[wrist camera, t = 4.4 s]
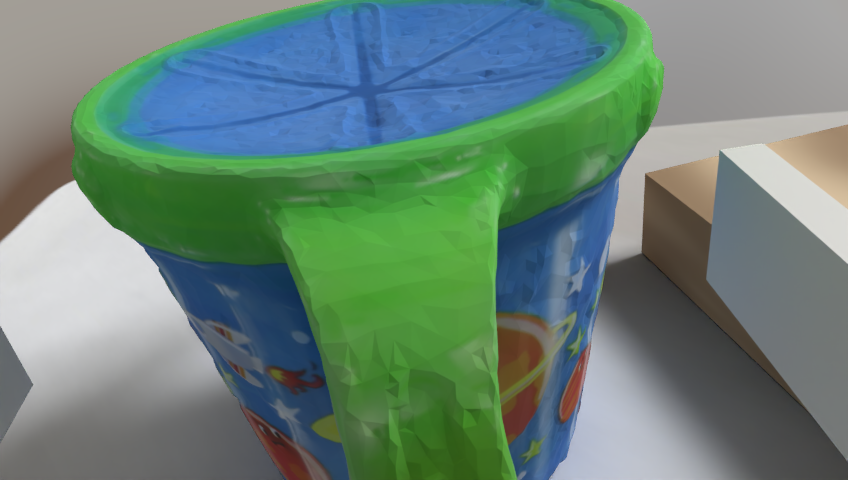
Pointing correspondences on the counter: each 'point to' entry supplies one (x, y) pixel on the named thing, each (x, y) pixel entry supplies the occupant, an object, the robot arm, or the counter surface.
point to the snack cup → (385, 218)
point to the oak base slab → (693, 212)
